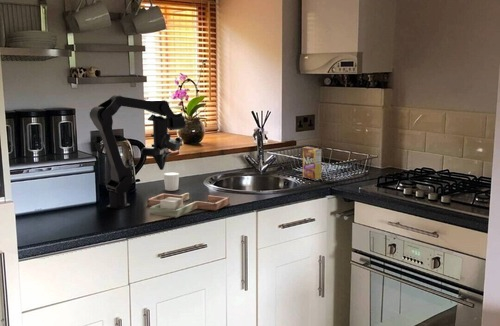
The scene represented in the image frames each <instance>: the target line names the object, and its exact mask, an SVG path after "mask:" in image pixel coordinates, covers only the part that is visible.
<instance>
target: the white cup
mask: <svg viewBox="0 0 500 326" xmlns="http://www.w3.org/2000/svg"><path fill="white" fill-rule="evenodd" d="M163 181H164V190H165V191H168V192H169V191H171V192H172V191H177V190H179V181H180V173H179V172H175V171H171V172H165V173H163Z"/></svg>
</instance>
